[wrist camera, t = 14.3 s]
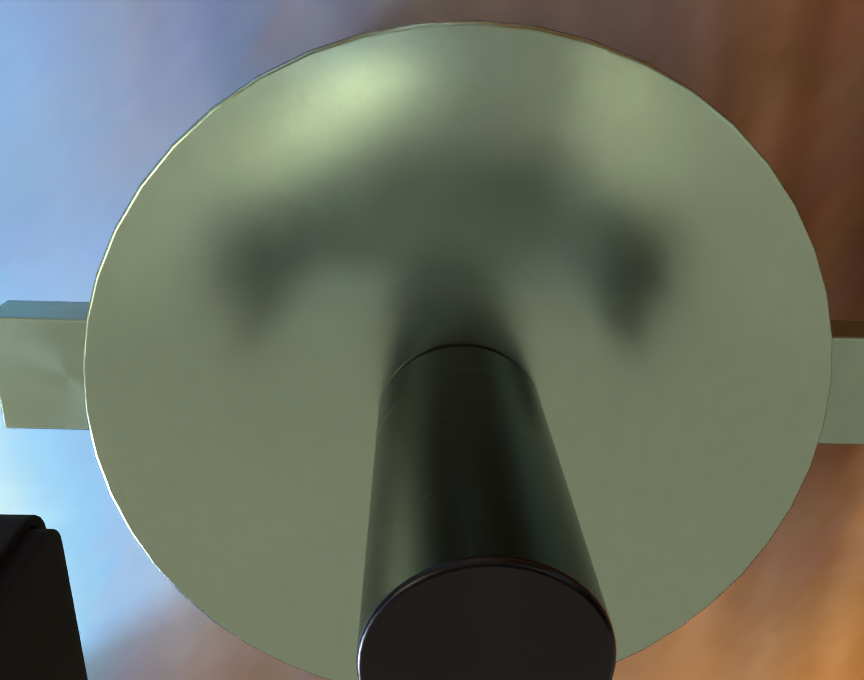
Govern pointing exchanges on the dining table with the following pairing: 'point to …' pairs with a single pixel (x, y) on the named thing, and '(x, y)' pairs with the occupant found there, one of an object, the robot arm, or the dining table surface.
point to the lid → (457, 356)
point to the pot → (64, 389)
